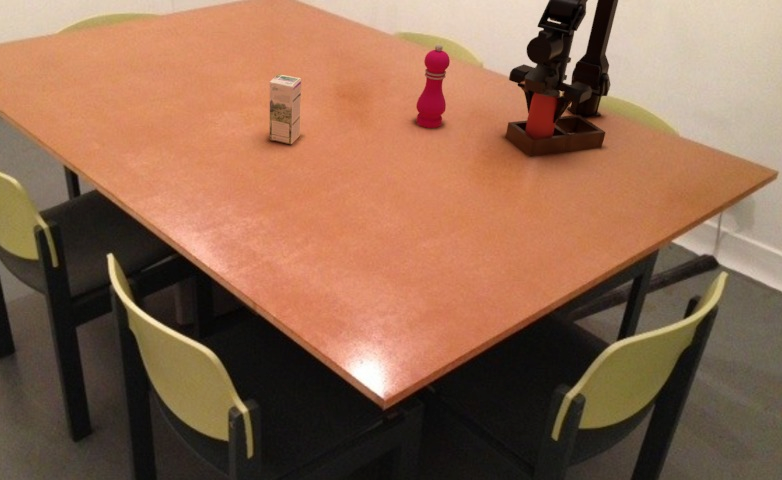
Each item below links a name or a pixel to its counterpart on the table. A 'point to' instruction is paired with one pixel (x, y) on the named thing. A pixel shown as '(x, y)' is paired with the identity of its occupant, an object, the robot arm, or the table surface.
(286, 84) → the syrup box
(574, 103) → the robot arm
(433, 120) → the pepper mill
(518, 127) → the can rack
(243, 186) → the table surface
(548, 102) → the beer can
